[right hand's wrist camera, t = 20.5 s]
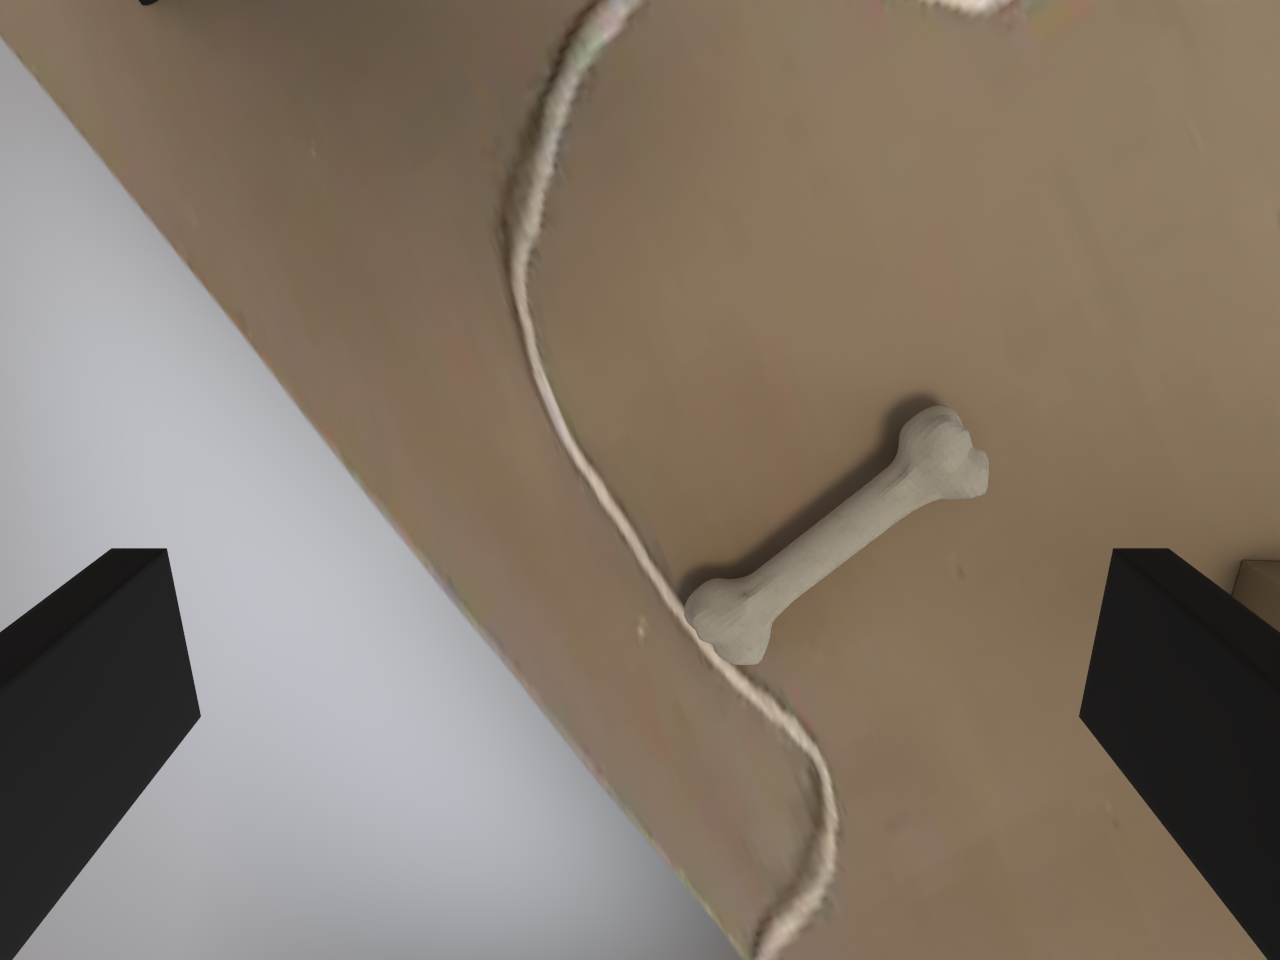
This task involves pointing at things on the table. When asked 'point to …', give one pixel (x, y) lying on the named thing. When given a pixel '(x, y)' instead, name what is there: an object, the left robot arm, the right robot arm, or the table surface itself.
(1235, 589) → the silver metal block
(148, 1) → the decorative sign
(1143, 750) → the right robot arm
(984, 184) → the table surface
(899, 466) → the dog toy
